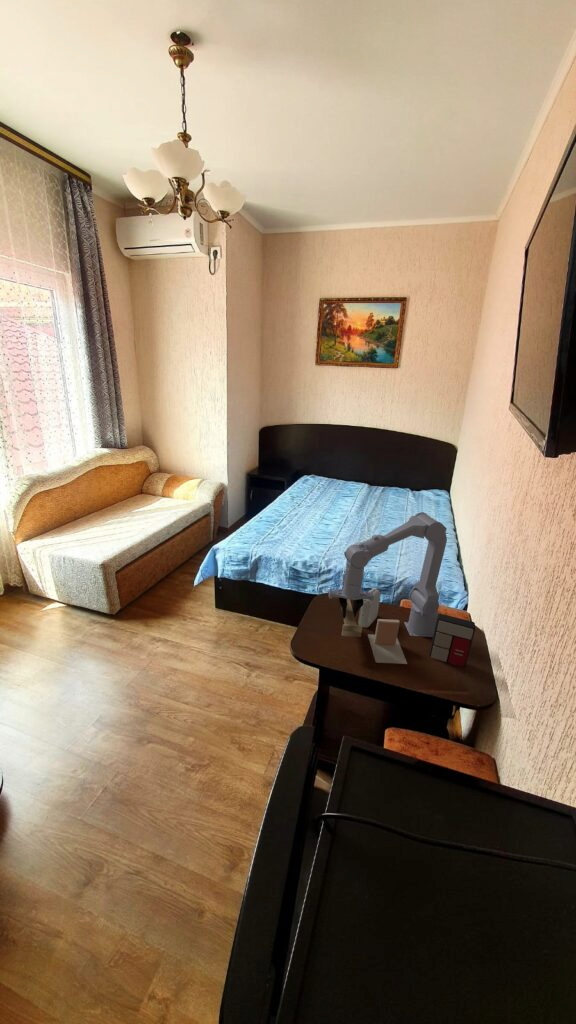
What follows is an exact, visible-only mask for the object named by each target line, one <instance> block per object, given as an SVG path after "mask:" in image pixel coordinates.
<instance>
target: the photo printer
mask: <svg viewBox="0 0 576 1024" xmlns="http://www.w3.org/2000/svg"><path fill="white" fill-rule="evenodd" d="M368 592H372V593H373V594H374V600H373V601H371V600H370V599H363V602H364V603H363V606H362V607H361V608H360V609H359V611H358V612H359V615H358V619H357V625H362V628H367V629H368V628H369V627H370V626H371V625H372V624H373V623H374V621H375V620H376V619H377V617H378V613H379V607H380V600H381V592H380V590H379V589H376V588H372V589H369V591H368Z"/></svg>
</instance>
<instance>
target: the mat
mask: <svg viewBox="0 0 576 1024" xmlns="http://www.w3.org/2000/svg"><path fill="white" fill-rule="evenodd" d="M367 637H368V641H369V644H370V648H371V651H372V654H373V658H374V661H375V663H378V664H379V663H380V664H381V663H382V664H397V665H398V664H399V665H401V664H402V665H403V664H404V665H407V664H408V662H407V659H406V657H405V654H404V652H403V649H402V647H401V643H400V642H399V639H398V638H397V639H396V645H387V644H375V643H374V639H375V634H373V633H372V634H367Z"/></svg>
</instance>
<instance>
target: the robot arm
mask: <svg viewBox="0 0 576 1024" xmlns="http://www.w3.org/2000/svg"><path fill="white" fill-rule="evenodd" d="M410 537H415V538H420V539H426V540H427V541H428V543H427V547H426V552H425V555H424V559H423V563H422V568H421V573H420V577H419V581H417V582H415V583H413V587H412V589H411V590H410V592H409V596H408V597H409V600H410V601H411V602H410V603H411V607H410V612H409V613H410V614H409V617H408V621H405V622H403V623H404V625H405V629H406V630H407V633H408V634H409V636H411V637H425V638H426V637H429V638H433V635H434V630H435V626H436V621H437V616H438V614H439V608H440V602H439V599H440V596H439V593H438V589H437V588H436V586H437V584H438V583H437V582H438V578H439V575H440V571H441V566H442V562H443V557H444V554H445V550H446V545H447V543H448V542H447V541H448V537H447V527H446V526H445V525H444V524H443V523H442V522H440V521H438V520H436V519H435V518H433V517H431V516H430V515H429V514H427V513H426V512H418V513H416V514H415V515H412V516H410V518H409V519H408V521H406V522H405V523H403V524H401V525H399V526H398V527H396V528H394V529H393V530H391V531H389V532H388V533H386V534H377V535H376V534H374V535H372V536H371V538H369V539H367V540H364V541H362V542H359V543H358V544H357V543H356V544H355V543H353V544H351V545H349V546H348V547H347V548H346V550H345V551H344V552H343V555H344V557H345V559H346V562H345V563H346V564H345V571H344V578H343V588H341V589H340V588H339V589H329V590H328V598H329V599H338V601H339V604H340V607H342V609H341V616H342V619H344V618H345V616H346V608H347V599H349V600H350V601H353V602H352V603H353V604H352V610H353V613H354V617H355V618H356V616H357V614H358V612H359V611H360V608H361V607H362V606H363V603H364V602H363V599H370V600H371V601H373V600H374V594H373V593H372V592H369V591H366V590H362V585H363V578H364V571H365V567H366V566H368V564H369V562H370V561H371V560H372V559H373V558H375V557H377V556H379V555H381V554H383V553H385V552H387V551H388V550H389V547H390V545H393V544H395V543H398V542H401V541H402V540H405V539H407V538H410Z"/></svg>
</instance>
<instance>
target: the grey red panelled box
mask: <svg viewBox="0 0 576 1024" xmlns="http://www.w3.org/2000/svg"><path fill="white" fill-rule="evenodd" d="M438 613H439V612H438ZM475 632H476V622H474V621H471V620H468V619H464V618H459V617H456V616H451V615H447V614H443V613H439V614H438V616H437V621H436V626H435V630H434V635H433V637H432V639H431V645H430V649H429V655H428V656H429V657H430V658H431V659H435V660H438V661H441V662H445V663H447V662H448V664H452V665H454V666H458V667H461V668H466V666H467V661H468V658H469V655H470V650H471V647H472V643H473V639H474V636H475Z"/></svg>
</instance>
